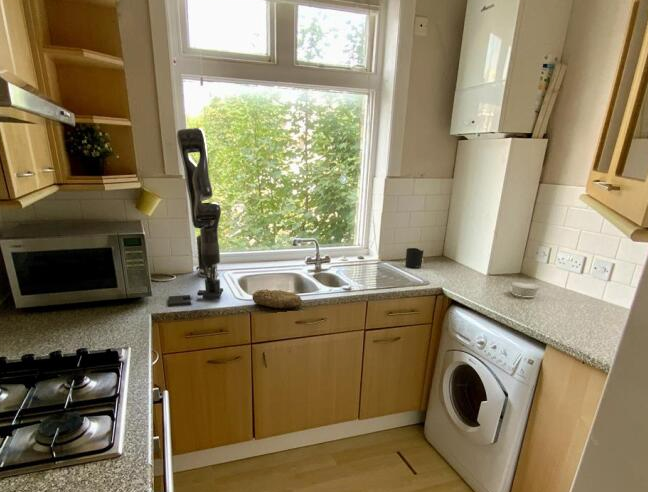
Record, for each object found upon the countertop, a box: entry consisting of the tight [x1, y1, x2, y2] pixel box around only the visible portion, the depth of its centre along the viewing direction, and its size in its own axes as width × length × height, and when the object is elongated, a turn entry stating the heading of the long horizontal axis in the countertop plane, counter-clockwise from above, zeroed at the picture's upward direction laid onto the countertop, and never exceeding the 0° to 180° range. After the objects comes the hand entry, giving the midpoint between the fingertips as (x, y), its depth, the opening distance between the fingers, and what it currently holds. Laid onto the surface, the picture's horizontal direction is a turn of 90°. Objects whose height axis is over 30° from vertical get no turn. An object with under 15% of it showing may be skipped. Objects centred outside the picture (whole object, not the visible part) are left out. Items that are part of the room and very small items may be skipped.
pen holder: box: [405, 247, 424, 270], centre depth 239 cm, size 9×9×10 cm
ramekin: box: [511, 281, 540, 299], centre depth 193 cm, size 11×11×5 cm
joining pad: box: [196, 278, 224, 299], centre depth 181 cm, size 10×10×6 cm
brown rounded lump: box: [251, 289, 303, 309], centre depth 174 cm, size 13×8×20 cm
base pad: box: [167, 294, 192, 307], centre depth 178 cm, size 10×9×1 cm
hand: (213, 290), depth 182 cm, fingers closed on joining pad
